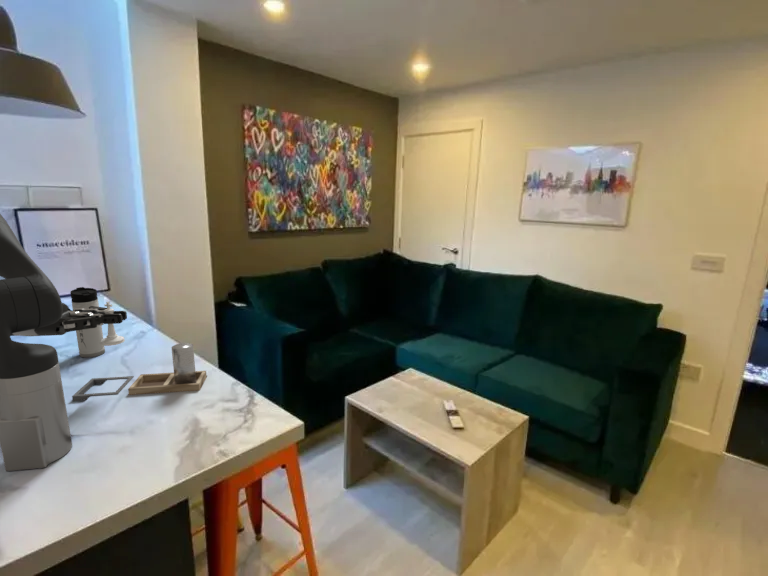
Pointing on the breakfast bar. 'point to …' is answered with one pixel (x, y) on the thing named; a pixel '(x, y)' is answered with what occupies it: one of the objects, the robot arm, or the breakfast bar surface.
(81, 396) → the frame
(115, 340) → the chess piece
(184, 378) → the steel peg
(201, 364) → the breakfast bar surface
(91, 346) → the travel mug
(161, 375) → the wooden divided tray
